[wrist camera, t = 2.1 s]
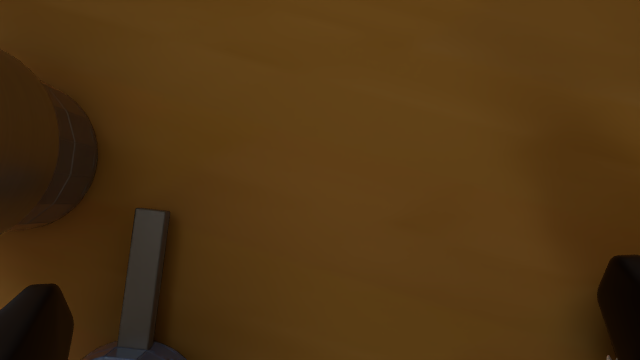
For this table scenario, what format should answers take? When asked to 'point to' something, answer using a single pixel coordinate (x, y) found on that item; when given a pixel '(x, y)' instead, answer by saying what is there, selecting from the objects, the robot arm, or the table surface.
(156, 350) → the pan
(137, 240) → the pan handle
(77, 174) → the pot
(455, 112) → the table surface
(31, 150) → the light grey round piece
